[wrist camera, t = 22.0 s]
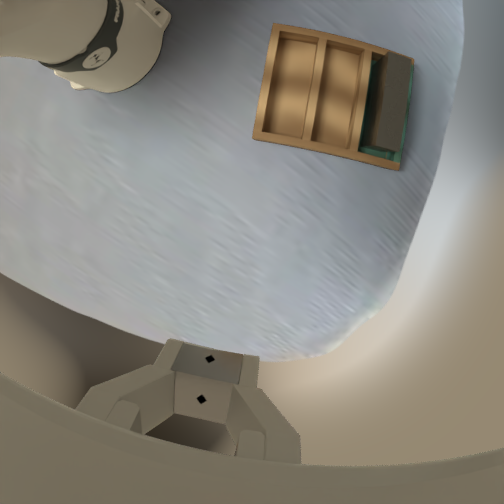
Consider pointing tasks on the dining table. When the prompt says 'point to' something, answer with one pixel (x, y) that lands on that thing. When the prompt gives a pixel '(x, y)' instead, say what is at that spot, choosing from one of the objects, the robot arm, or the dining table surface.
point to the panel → (387, 103)
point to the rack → (320, 94)
